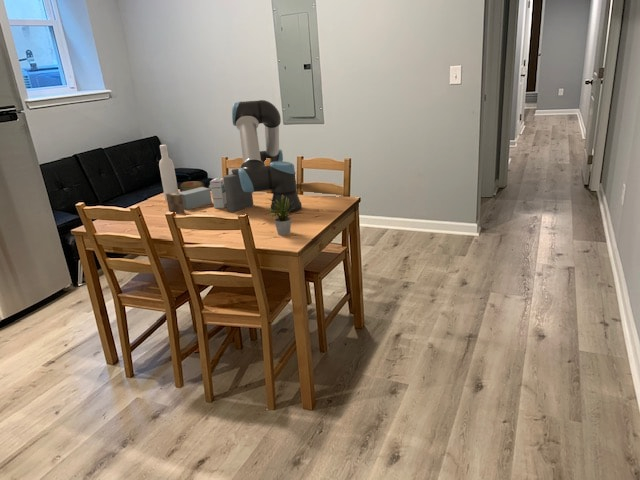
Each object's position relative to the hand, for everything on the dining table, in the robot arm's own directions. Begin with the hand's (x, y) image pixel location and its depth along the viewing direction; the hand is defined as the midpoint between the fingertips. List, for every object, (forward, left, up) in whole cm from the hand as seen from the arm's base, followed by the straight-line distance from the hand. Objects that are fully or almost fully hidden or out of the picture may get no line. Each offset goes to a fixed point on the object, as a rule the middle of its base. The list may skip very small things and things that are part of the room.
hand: (210, 188), depth 273 cm
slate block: (0, +11, -7) cm, 13 cm away
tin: (+18, -2, -7) cm, 19 cm away
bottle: (+26, +7, -7) cm, 28 cm away
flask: (-28, +6, -7) cm, 29 cm away
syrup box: (-16, +8, -7) cm, 19 cm away
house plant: (-74, +26, -7) cm, 79 cm away
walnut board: (0, +24, -6) cm, 25 cm away
